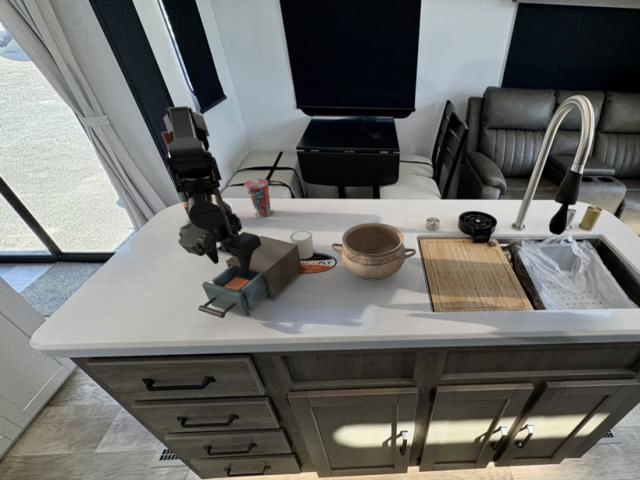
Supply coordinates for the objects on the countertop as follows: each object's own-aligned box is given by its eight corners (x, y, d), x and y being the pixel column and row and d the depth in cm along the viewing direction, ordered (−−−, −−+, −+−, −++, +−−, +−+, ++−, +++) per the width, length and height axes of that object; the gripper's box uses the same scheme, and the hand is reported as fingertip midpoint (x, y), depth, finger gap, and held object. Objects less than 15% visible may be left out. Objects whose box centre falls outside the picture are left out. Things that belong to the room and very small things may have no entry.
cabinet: (272, 298, 89) (264, 272, 83) (235, 287, 92) (225, 261, 86) (302, 270, 100) (297, 244, 94) (268, 260, 103) (261, 235, 97)
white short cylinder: (310, 261, 103) (306, 242, 99) (290, 258, 104) (285, 239, 100) (318, 250, 108) (315, 231, 104) (299, 247, 109) (295, 228, 105)
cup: (251, 210, 128) (243, 180, 120) (274, 207, 131) (267, 177, 123) (253, 221, 122) (244, 190, 114) (277, 217, 125) (269, 186, 117)
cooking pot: (326, 288, 94) (321, 252, 85) (340, 252, 108) (337, 219, 100) (413, 294, 93) (415, 259, 85) (415, 257, 107) (418, 224, 99)
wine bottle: (207, 224, 119) (171, 135, 99) (186, 223, 119) (146, 135, 99) (216, 215, 124) (184, 129, 105) (196, 214, 124) (160, 128, 104)
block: (229, 298, 86) (224, 286, 83) (241, 289, 89) (236, 276, 86) (242, 303, 85) (237, 290, 82) (254, 293, 88) (249, 280, 85)
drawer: (233, 330, 79) (223, 308, 74) (196, 317, 82) (185, 295, 77) (279, 286, 92) (273, 265, 87) (246, 277, 95) (239, 256, 90)
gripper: (143, 216, 67) (175, 276, 77) (215, 234, 62) (239, 296, 73) (187, 195, 75) (211, 253, 85) (253, 210, 70) (270, 269, 80)
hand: (231, 267), depth 81 cm, fingers open, 9 cm apart
